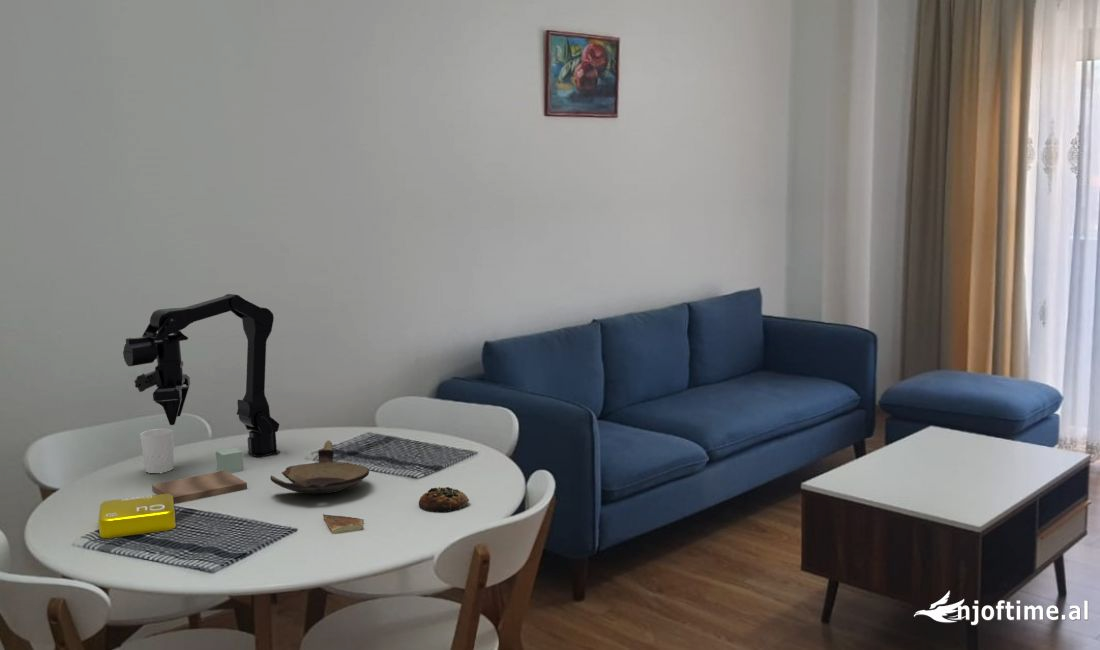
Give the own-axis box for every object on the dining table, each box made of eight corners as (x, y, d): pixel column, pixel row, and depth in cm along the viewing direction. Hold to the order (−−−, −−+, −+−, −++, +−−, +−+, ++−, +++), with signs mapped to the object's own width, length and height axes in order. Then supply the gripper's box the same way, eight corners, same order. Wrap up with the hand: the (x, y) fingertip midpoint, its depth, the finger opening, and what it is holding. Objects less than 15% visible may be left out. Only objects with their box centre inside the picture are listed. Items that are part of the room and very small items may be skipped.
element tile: (173, 511, 239) (172, 490, 238) (176, 531, 225) (174, 509, 224) (101, 520, 233) (100, 499, 233) (99, 541, 220) (97, 519, 219)
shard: (323, 521, 229) (322, 513, 229) (358, 516, 232) (357, 508, 232) (331, 536, 219) (330, 528, 219) (367, 531, 222) (367, 523, 222)
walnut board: (225, 476, 264) (225, 470, 264) (247, 488, 253) (246, 482, 253) (152, 490, 253) (151, 484, 253) (171, 504, 242) (170, 497, 242)
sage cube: (236, 466, 273) (234, 447, 272) (243, 470, 269) (242, 451, 268) (217, 470, 270) (215, 451, 269) (224, 474, 266) (222, 455, 266)
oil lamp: (252, 504, 241) (250, 471, 240) (314, 468, 270) (312, 439, 269) (342, 510, 235) (340, 476, 234) (395, 473, 264) (394, 443, 263)
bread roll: (422, 515, 230) (422, 492, 230) (415, 506, 241) (415, 484, 241) (472, 511, 233) (472, 489, 233) (463, 503, 244) (463, 482, 244)
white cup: (169, 474, 267) (166, 435, 265) (138, 475, 267) (134, 436, 266) (180, 466, 275) (177, 428, 273) (150, 466, 275) (147, 429, 273)
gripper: (142, 355, 272) (148, 414, 275) (127, 369, 254) (134, 432, 257) (187, 352, 274) (193, 411, 277) (176, 365, 256) (182, 428, 259)
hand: (175, 420), depth 267 cm, fingers open, 9 cm apart
